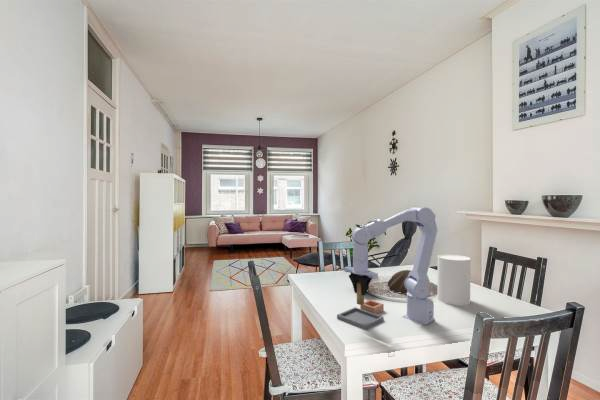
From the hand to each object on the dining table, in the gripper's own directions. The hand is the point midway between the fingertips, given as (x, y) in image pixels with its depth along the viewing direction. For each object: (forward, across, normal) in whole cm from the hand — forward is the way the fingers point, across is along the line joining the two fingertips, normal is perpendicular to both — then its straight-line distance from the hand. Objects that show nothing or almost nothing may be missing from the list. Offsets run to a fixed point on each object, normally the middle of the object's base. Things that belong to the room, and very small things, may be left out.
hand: (360, 293), depth 117 cm
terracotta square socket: (+10, -2, +11) cm, 15 cm away
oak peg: (+4, 0, 0) cm, 4 cm away
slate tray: (+10, 0, 0) cm, 11 cm away
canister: (+11, +16, +50) cm, 53 cm away
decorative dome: (+11, -7, +50) cm, 51 cm away
